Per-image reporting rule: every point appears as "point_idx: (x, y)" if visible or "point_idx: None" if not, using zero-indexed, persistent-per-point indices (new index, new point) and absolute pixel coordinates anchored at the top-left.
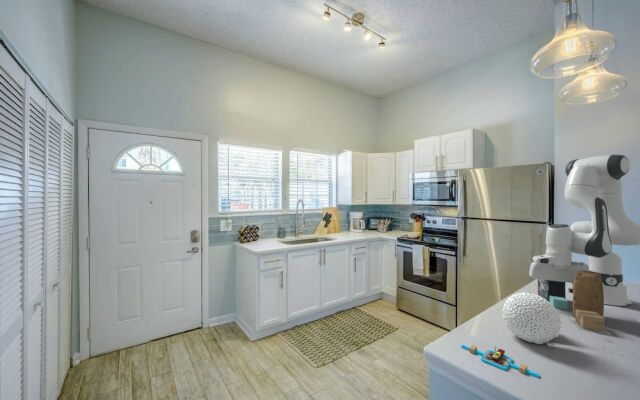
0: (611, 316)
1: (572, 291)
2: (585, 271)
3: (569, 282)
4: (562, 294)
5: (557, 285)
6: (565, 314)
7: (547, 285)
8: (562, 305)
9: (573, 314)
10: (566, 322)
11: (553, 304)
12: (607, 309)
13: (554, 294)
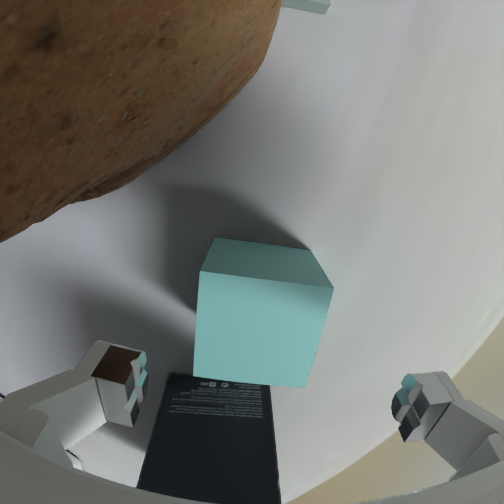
0: (3, 254)
1: (109, 355)
2: None
3: (94, 476)
4: (173, 432)
5: (202, 499)
6: (259, 181)
7: (279, 498)
8: (252, 259)
9: (266, 51)
10: (337, 19)
11: (320, 269)
12: (6, 353)
13: (231, 432)
